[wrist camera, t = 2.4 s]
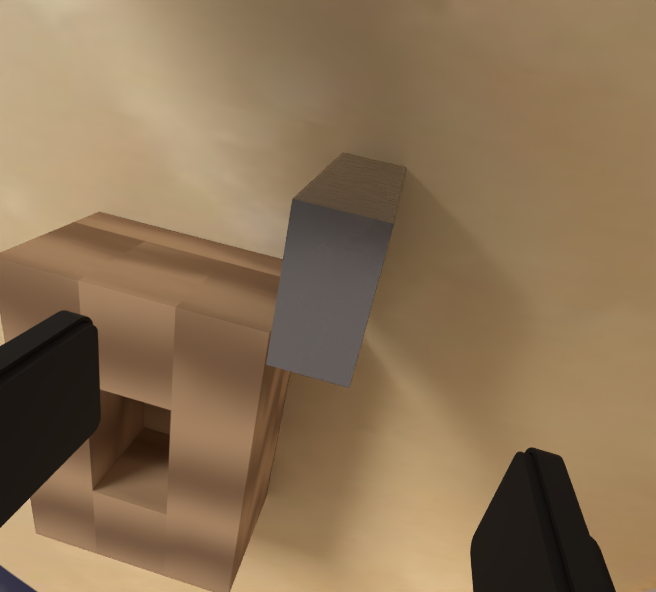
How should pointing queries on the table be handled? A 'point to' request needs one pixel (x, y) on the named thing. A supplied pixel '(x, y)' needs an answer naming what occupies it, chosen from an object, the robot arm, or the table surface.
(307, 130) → the table surface
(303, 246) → the grey rectangular block
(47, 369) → the robot arm
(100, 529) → the tan slotted block
